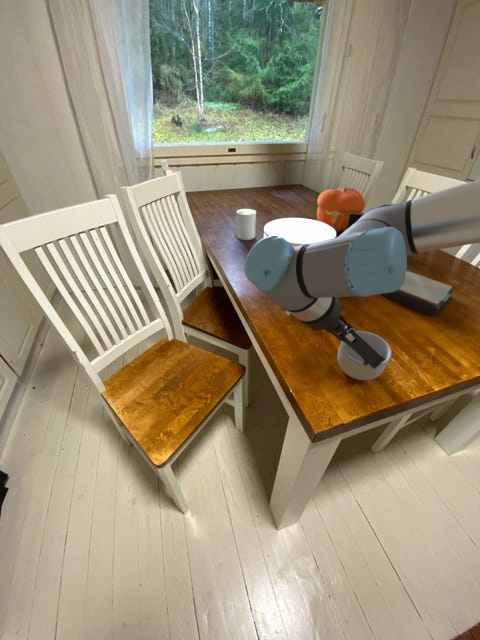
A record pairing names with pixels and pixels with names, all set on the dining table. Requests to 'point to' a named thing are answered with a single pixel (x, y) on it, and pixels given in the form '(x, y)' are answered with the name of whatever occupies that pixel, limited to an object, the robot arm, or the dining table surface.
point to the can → (246, 224)
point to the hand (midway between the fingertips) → (355, 342)
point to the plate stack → (299, 230)
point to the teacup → (353, 361)
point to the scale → (421, 293)
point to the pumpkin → (338, 207)
